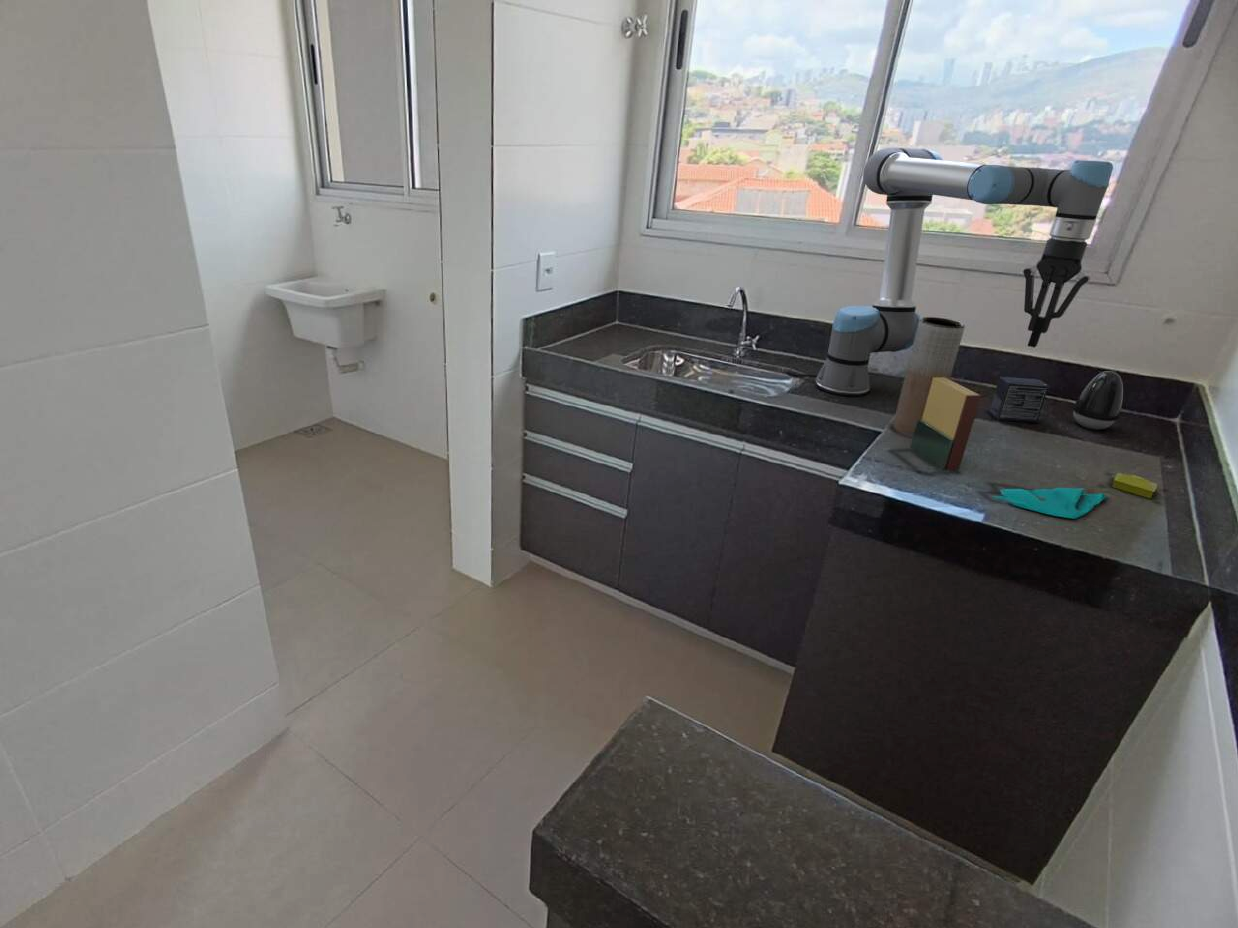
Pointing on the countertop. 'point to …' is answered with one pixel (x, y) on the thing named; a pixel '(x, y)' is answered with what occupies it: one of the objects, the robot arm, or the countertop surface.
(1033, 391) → the small box
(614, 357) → the countertop surface
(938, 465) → the bookend
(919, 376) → the vase
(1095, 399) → the black rounded dome
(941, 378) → the book
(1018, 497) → the cloth
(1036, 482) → the countertop surface
